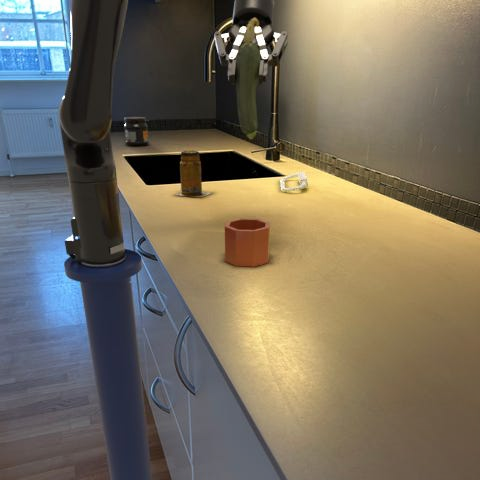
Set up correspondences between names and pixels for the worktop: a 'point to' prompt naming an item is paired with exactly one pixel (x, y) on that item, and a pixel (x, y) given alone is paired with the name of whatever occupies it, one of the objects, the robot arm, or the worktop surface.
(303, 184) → the white open frame
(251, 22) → the vegetable
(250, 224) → the utensil pot
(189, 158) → the condiment
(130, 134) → the supplement container
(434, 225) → the worktop surface
